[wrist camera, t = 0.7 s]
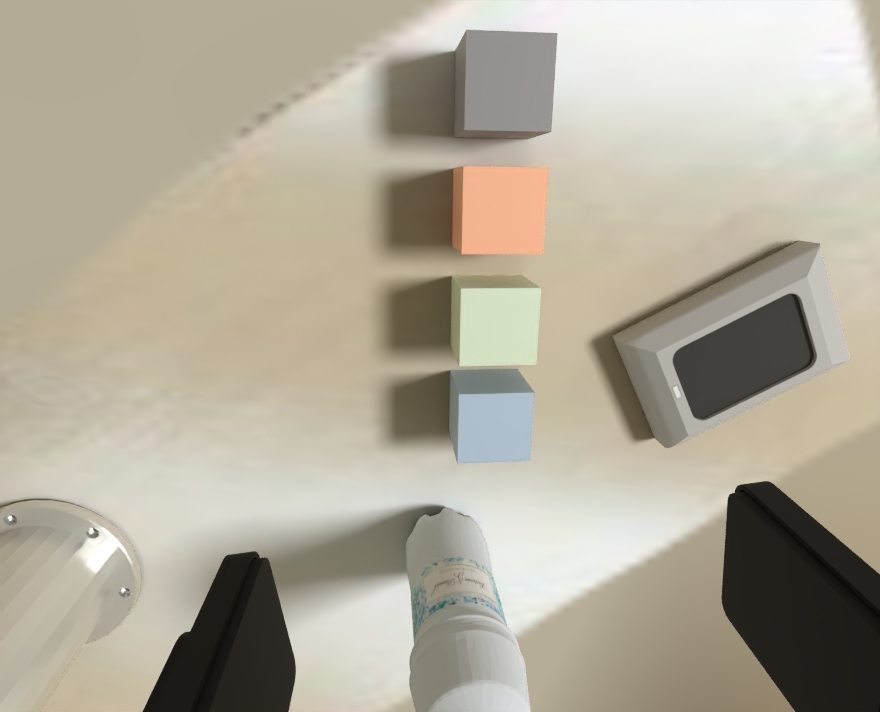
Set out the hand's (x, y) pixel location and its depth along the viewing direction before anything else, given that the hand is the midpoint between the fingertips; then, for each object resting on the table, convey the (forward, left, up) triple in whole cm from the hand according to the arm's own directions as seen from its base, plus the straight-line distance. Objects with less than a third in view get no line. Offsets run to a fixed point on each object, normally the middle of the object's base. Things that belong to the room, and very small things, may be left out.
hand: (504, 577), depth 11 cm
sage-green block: (+3, -4, -29) cm, 30 cm away
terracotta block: (+8, +1, -29) cm, 30 cm away
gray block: (+13, +6, -29) cm, 32 cm away
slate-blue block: (-2, -9, -29) cm, 31 cm away
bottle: (-12, -15, -29) cm, 35 cm away
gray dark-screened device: (+14, -19, -30) cm, 38 cm away
